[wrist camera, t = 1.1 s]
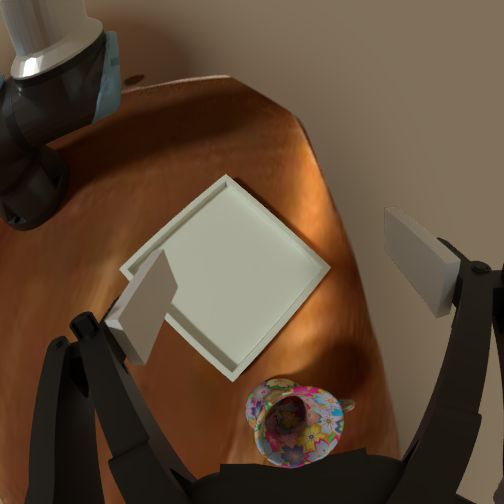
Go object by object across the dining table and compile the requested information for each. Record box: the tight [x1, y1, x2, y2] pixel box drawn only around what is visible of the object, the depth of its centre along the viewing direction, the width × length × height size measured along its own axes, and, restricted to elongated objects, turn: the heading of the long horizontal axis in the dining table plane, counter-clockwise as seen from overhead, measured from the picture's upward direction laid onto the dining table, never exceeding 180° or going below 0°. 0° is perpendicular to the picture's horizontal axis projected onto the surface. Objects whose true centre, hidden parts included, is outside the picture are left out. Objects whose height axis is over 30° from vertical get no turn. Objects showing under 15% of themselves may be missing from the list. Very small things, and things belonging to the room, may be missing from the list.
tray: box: [120, 174, 331, 382], centre depth 36 cm, size 20×20×2 cm
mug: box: [246, 378, 355, 468], centre depth 28 cm, size 12×9×11 cm
